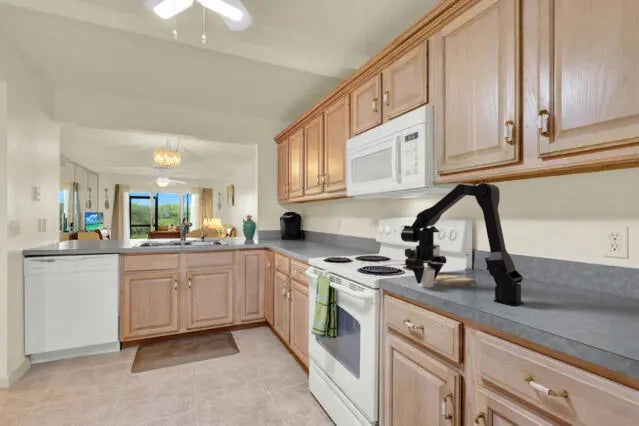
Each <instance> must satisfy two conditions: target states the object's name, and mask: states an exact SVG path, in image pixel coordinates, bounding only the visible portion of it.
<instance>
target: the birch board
mask: <svg viewBox="0 0 639 426" xmlns="http://www.w3.org/2000/svg"><path fill="white" fill-rule="evenodd" d="M434 283H436V284H440V285H445V286H451V287H455V288H456V287H459V286H466V285H470V284H474V283H476V279H473V278H468V277H462V276H457V275H451V274H446V273H445V274H438V275H437V277H436V279H435V281H434Z"/></svg>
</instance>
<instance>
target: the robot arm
mask: <svg viewBox="0 0 639 426" xmlns="http://www.w3.org/2000/svg"><path fill="white" fill-rule="evenodd" d="M500 193H501V192H500V188H499V187H498V186H497V185H495V184H490V183H485V182H483V183H479V184H477V185H471V184H463V183H459V184H457V185H456V186H455V187H454V188H453V189H452V190H451V191H449V192H448V193H447V194H445V196H444V197H442V198H441V199H440V200H439V201H437V202H436V203H435V204H434V205H432V206H431V207H429V208H425V209H424V210H422V211H420V212H418V213H417V215H416V216H415V217H416V218H415V220H414V222H413V223H412V224H411V225H404V226H403V229H402V230H401V233H400V238H401V241H403V242H406V243H407V242H409V243H418V245H416V246H415V249H411V248H406V249H404V257H405V260H404V265H405V266H407V267H408V268H410V269H411V270H412V271H413V274H414V277H415V280H416V283H417V284H418V285H419V284H420V283H421V280H422V276H423V271H424V268H425V266H424V265H425V263H428V264H429V266H430V268H433V269H435V276H434V281H435V279H436V277H437V276H439V274H440V271H441V270H442V268H443V267H444V266H445V264H447V258H446V256H445V255H440V256H439V255H434V249H436V246H434V244H435V243H434V242H435V241H434V240H435V237H434V236H435V234H434V233H439V232H440V230H439V229H438V228H436V226H435V225H436V224H437V223H438V221H439V220H440V218H441V216H442V215H443V214H444V213H445V212H446V211H448V210H449V209H450V208H452V207H453V206H454V205H456V204H457V203H458V202H459V201H460V200H462V199H463V198H464V197H466V196H472V197H475V200H476V202H477V204H478V205H479V207H480V208H481V210H482V214H483V219H484V224H485V230H486V235H487V241H488V244H489V250H490V252H489V256H488V257H485V258H484V261H485V263H486V271H488V273H489V275H490V276H492V277H493V280H494V283H495V286H494V299H493V302H496V303H499V304H504V305H509V306H515V307H516V306H519V305H521V304H524V301H523V300H522V282H523V279H524V276H522V274H521V273H520V272H519V271H518V270H516V266H515V264H514V262H513V259H512V257H511V255H510V254H509V253H508V251H507V248H506V244H505V239H504V233H503V229H502V224H501V219H500V213H499V205H500V204H499V203H500V196H501V195H500ZM438 273H439V274H438Z"/></svg>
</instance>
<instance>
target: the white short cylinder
mask: <svg viewBox="0 0 639 426" xmlns="http://www.w3.org/2000/svg"><path fill="white" fill-rule="evenodd" d="M434 276H435V269H433V268H425V267H424V271H423V276H422V280H421V283H420V284H418V286H419V287H420V288H425V287H427V288H428V289H429V288H430V287H432V288H434V287H433V286H435V284H434V283H435V282H434ZM427 288H426V289H427ZM430 289H431V288H430Z"/></svg>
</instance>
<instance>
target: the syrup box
mask: <svg viewBox="0 0 639 426" xmlns="http://www.w3.org/2000/svg"><path fill="white" fill-rule="evenodd" d="M434 246H436V249H434V255H439V256H441V255H440V253H441V252H440V251H441V248H440V247H441V245H440V244H437V243H434ZM424 268H430V266H429V264H428V263H424ZM438 275H440V272H439V273H438Z"/></svg>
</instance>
